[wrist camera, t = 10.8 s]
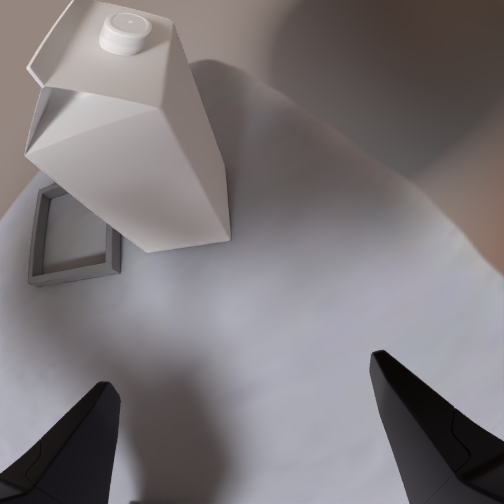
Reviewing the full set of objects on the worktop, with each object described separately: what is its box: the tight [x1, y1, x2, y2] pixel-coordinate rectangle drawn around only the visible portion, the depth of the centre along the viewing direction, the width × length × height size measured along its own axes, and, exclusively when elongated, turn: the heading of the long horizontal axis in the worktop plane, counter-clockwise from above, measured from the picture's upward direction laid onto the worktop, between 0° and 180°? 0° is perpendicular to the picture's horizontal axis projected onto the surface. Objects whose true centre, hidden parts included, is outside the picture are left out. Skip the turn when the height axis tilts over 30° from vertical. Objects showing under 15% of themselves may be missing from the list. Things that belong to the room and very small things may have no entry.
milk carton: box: [24, 0, 231, 253], centre depth 17 cm, size 7×7×19 cm
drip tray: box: [28, 183, 121, 287], centre depth 26 cm, size 10×10×2 cm
